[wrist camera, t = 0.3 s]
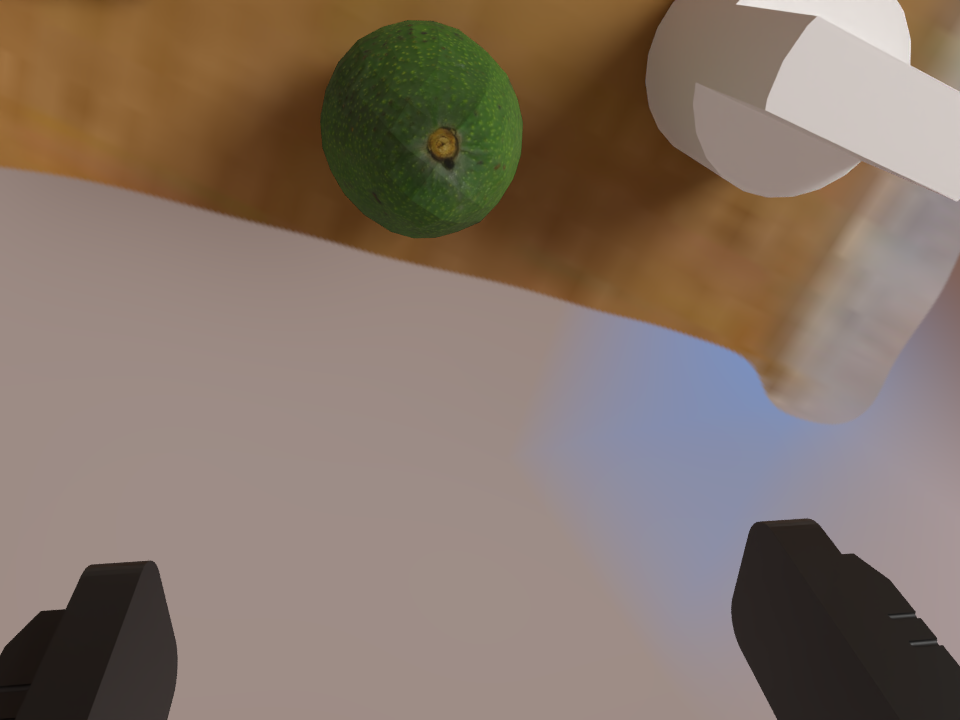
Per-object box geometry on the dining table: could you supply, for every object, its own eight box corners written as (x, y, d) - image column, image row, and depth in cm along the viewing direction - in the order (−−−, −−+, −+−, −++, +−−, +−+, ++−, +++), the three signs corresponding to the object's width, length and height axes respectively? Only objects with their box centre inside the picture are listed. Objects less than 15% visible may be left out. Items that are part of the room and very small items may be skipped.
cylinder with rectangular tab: (868, 10, 35) (1080, 35, 25) (765, 189, 39) (911, 278, 28) (707, -79, 33) (867, -93, 22) (612, 122, 36) (710, 192, 26)
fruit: (290, 123, 34) (254, 199, 24) (396, -29, 32) (408, -19, 21) (430, 227, 37) (453, 335, 27) (536, 96, 35) (606, 157, 25)
